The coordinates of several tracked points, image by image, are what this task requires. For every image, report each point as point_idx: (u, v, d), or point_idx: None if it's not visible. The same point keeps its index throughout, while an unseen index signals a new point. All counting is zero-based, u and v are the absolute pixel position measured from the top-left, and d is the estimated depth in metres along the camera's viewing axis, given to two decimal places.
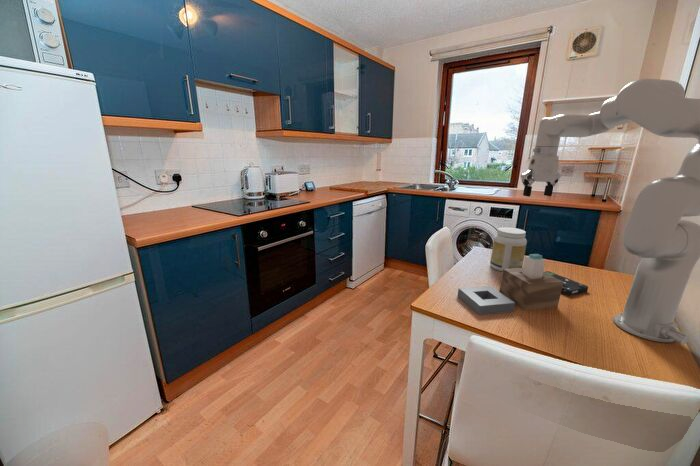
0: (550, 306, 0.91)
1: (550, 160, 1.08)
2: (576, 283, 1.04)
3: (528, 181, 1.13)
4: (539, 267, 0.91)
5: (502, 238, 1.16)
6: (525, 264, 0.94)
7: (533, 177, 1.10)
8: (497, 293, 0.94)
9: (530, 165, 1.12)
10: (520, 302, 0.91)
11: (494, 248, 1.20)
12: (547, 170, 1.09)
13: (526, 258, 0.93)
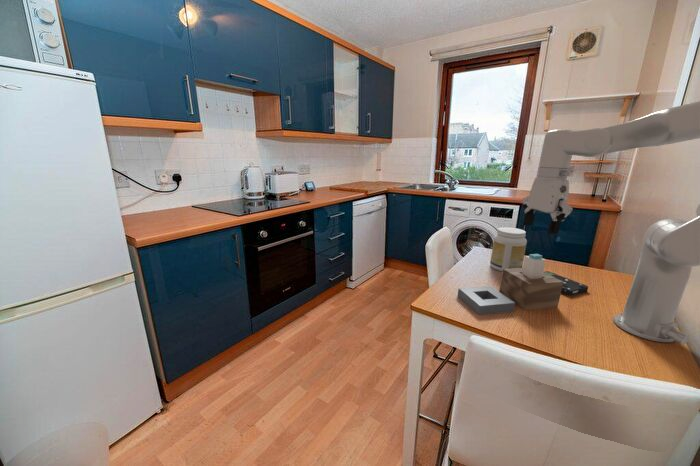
0: (550, 306, 0.91)
1: None
2: (576, 283, 1.04)
3: None
4: (539, 267, 0.91)
5: (502, 238, 1.16)
6: (525, 264, 0.94)
7: None
8: (497, 293, 0.94)
9: (559, 193, 0.82)
10: (520, 302, 0.91)
11: (494, 248, 1.20)
12: None
13: (526, 258, 0.93)
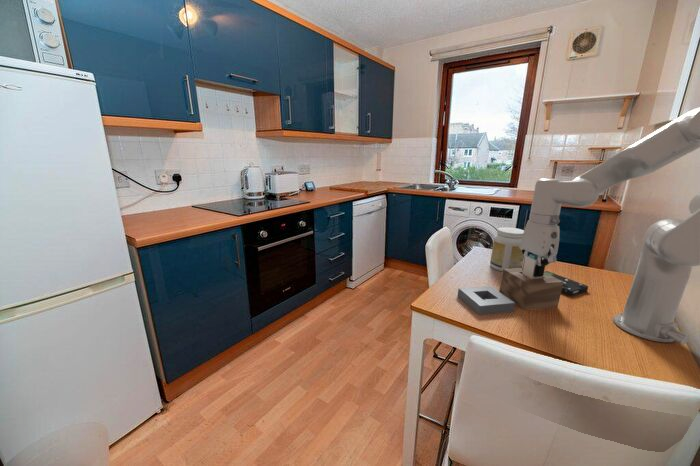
0: (550, 306, 0.91)
1: None
2: (576, 283, 1.04)
3: None
4: None
5: (503, 238, 1.16)
6: (525, 264, 0.94)
7: (555, 253, 0.87)
8: (497, 293, 0.94)
9: (550, 239, 0.85)
10: (520, 302, 0.91)
11: (494, 248, 1.20)
12: None
13: (526, 258, 0.93)
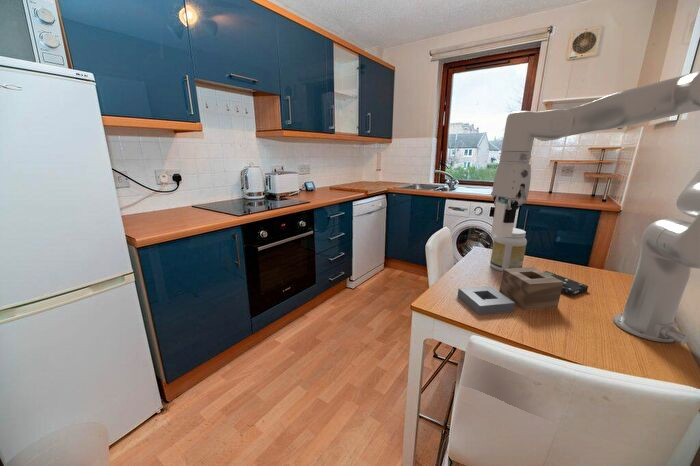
0: (550, 306, 0.91)
1: None
2: (576, 283, 1.04)
3: None
4: None
5: (502, 238, 1.16)
6: (496, 210, 0.87)
7: (526, 194, 0.80)
8: (497, 293, 0.94)
9: (520, 178, 0.78)
10: (520, 302, 0.91)
11: (494, 248, 1.20)
12: None
13: (497, 204, 0.86)
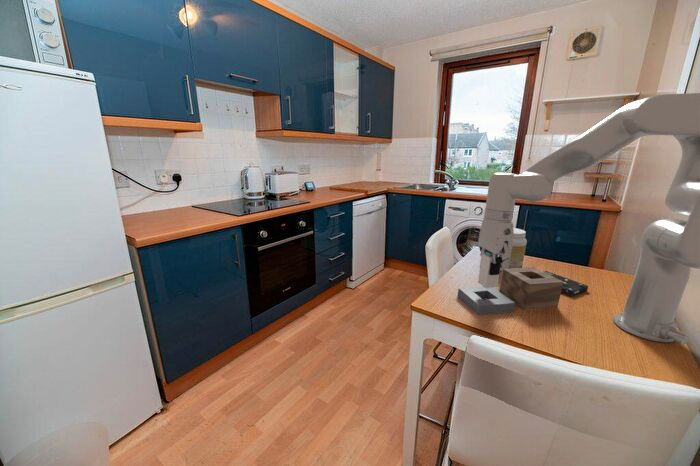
0: (550, 306, 0.91)
1: None
2: (576, 283, 1.05)
3: None
4: None
5: None
6: (482, 262, 0.90)
7: (510, 250, 0.84)
8: (497, 293, 0.94)
9: (504, 236, 0.82)
10: (520, 302, 0.91)
11: None
12: None
13: (482, 256, 0.90)
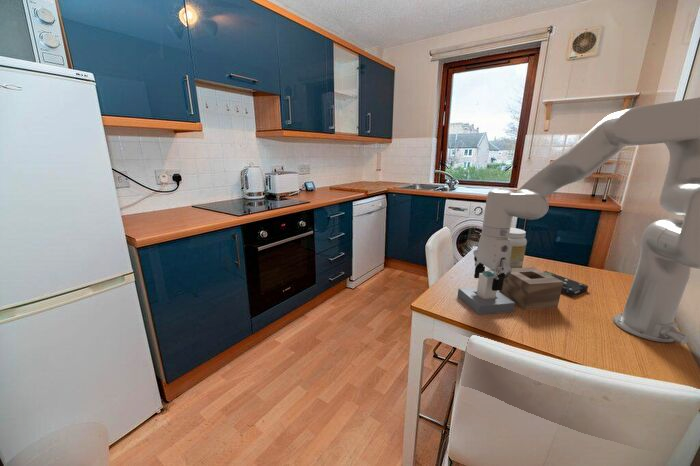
0: (550, 306, 0.91)
1: None
2: (576, 283, 1.05)
3: None
4: None
5: None
6: (479, 281, 0.92)
7: None
8: (497, 293, 0.94)
9: (501, 253, 0.83)
10: (520, 302, 0.91)
11: None
12: None
13: (480, 275, 0.92)
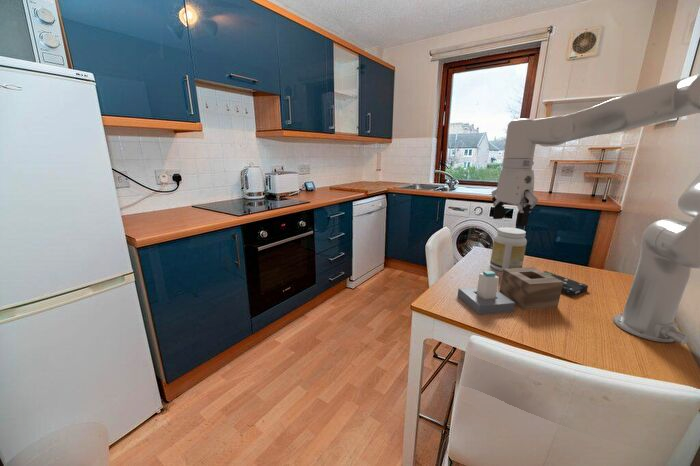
0: (550, 306, 0.91)
1: None
2: (576, 283, 1.05)
3: None
4: (492, 285, 0.90)
5: (503, 238, 1.16)
6: (479, 281, 0.92)
7: None
8: (497, 293, 0.94)
9: (524, 184, 0.79)
10: (520, 302, 0.91)
11: (494, 248, 1.20)
12: None
13: (480, 275, 0.92)
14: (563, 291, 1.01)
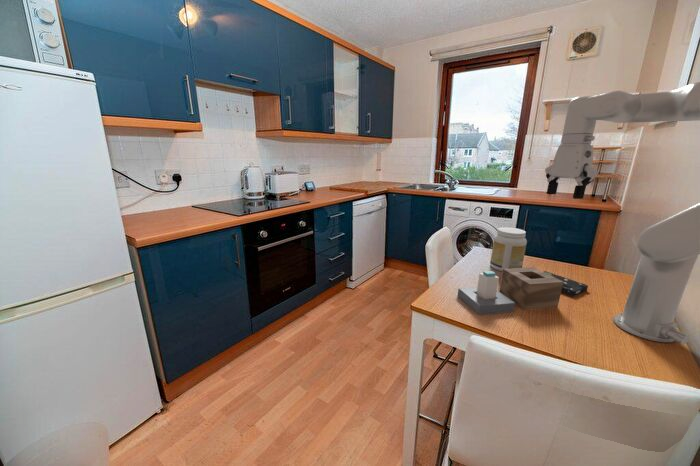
0: (550, 306, 0.91)
1: None
2: (576, 282, 1.05)
3: None
4: (492, 285, 0.90)
5: (502, 238, 1.16)
6: (479, 281, 0.92)
7: (589, 173, 0.86)
8: (497, 293, 0.94)
9: (584, 158, 0.84)
10: (520, 302, 0.91)
11: (494, 248, 1.20)
12: None
13: (480, 275, 0.92)
14: (564, 291, 1.01)
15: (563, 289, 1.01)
